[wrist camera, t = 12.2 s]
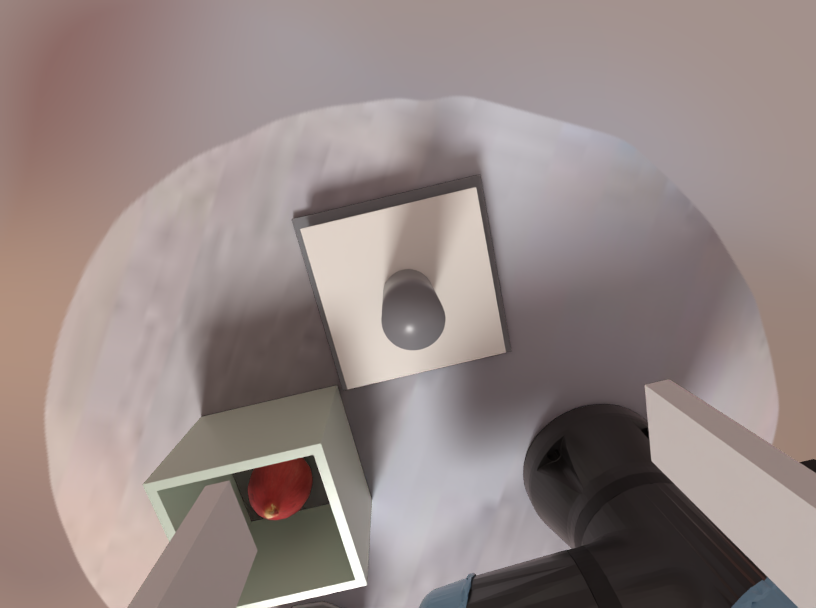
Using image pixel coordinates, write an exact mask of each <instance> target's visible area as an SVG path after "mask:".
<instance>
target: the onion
mask: <svg viewBox="0 0 816 608" xmlns="http://www.w3.org/2000/svg"><path fill="white" fill-rule="evenodd" d="M312 483H313V477H312V473H311V469H310V467H309V465H308V464H307V462H306V461H305V460H304V458H297V459H293V460H289V461H284V462H280V463H276V464H271V465H267V466H263V467H258V468H255V469H254V470H253V472H252V474H251V477H250V481H249V485H248V496H249V501H250V505H251V506H252V508H253V509H254V510H255V511H256V513H257V514H258V515H259V516H261V517H263V518H265V519H267V520H280V519H285V518H288V517H290V516H291V515H293V514H295V513H296V512H298V511H299V510H300V509H301V507H302V506H303V505H304V503H305V502H306V500H307V499H308V497H309V495H310V492H311V488H312Z"/></svg>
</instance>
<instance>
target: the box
mask: <svg viewBox="0 0 816 608" xmlns="http://www.w3.org/2000/svg"><path fill="white" fill-rule="evenodd" d="M310 455H314V457H315V460H316V463H317V466H318V469H319V472H320V475H321V478H322V481H323V484H324V487H325V490H326V493H327V496H328V499H329V502H330V504H326V505H322V506H318V507H313V508H309V509H305V510H300V511H298V512H296V513H295V514H293V515H291V516H290V517H288V518H285V519H280V520H267V519H261V520H257V521H252V522H251V520H250V517H249V515H248V512H247V510H246V507H245V505H244V502H243V499H242V497H241V494H240V492H239V489H238V487H237V484H236V482H235V479H234V477H233V474H232V473H237V472H241V471H245V470H250V469H254V468H258V467H263V466H267V465H271V464H276V463H280V462H284V461H289V460H293V459H297V458H302V457H306V456H310ZM225 481H230V483H231V486H232V488H233V491H234V493H235V496H236V498H237V501H238V503H239V506H240V508H241V511H242V513H243V515H244V518H245V520H246V523H247V525H248V528H249V530H250V533H251V535H252V538H253V540H254V543H255V545H256V548H257V550H258V551H257V553H256V556H255V559H254V561H253V564H252V567H251V569H250V572H249V575H248V577H247V580H246V583H245V585H244V588H243V591H242V593H241V596H240V599H239V601H238V604H237V607H236V608H269V607H273V606H278V605H282V604H287V603H291V602H296V601H300V600H304V599H309V598H313V597H318V596H322V595H327V594H331V593H335V592H340V591H344V590H349V589H353V588H358V587H362V586H366V585H367V580H368V562H369V544H370V527H371V509H372V499H371V496H370V492H369V489H368V486H367V482H366V479H365V476H364V472H363V469H362V466H361V462H360V459H359V456H358V453H357V449H356V446H355V443H354V439H353V436H352V433H351V429H350V426H349V423H348V419H347V416H346V413H345V409H344V406H343V403H342V399H341V396H340V393H339V390H338V386H337V385H336V386H331V387H327V388H323V389H318V390H314V391H310V392H306V393H301V394H297V395H293V396H288V397H284V398H280V399H275V400H271V401H267V402H263V403H258V404H254V405H250V406H245V407H241V408H237V409H233V410H228V411H224V412H220V413H215V414H211V415H207V416H203V417H201V418H200V419H199V420H198V421H197V422H196V423H195V424H194V426H193V427H192V428H191V429H190V430H189V431H188V433H187V434H186V435H185V436H184V437H183V438H182V439H181V441H180V442H179V443H178V444H177V445H176V446H175V448H174V449H173V450H172V451H171V452H170V453H169V455H168V456H167V457H166V458H165V459H164V460H163V461H162V463H161V464H160V465H159V466H158V467H157V468H156V470H155V471H154V472H153V473H152V474H151V475H150V477H149V478H148V479H147V480H146V481H145V482H144V483H143V487H144V489H145V491H146V493H147V495H148V497H149V500H150V502H151V504H152V506H153V508H154V510H155V512H156V514H157V517H158V519H159V521H160V523H161V525H162V527H163V529H164V532H165V534H166V536H167V538H168V540H169V542H170V540H171V539H172V537H173V536H174V534H175V533H176V531H177V530H178V528H179V526H180V525H181V523H182V522H183V520H184V519H185V517H186V516H187V514H188V512H189V511H190V509H191V508H192V506H193V505H194V503H195V502H196V500H197V498H198V497H199V495H200V494H201V492H202V491H203V489H204V487H205V486H207V485H212V484H216V483H220V482H225Z"/></svg>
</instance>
